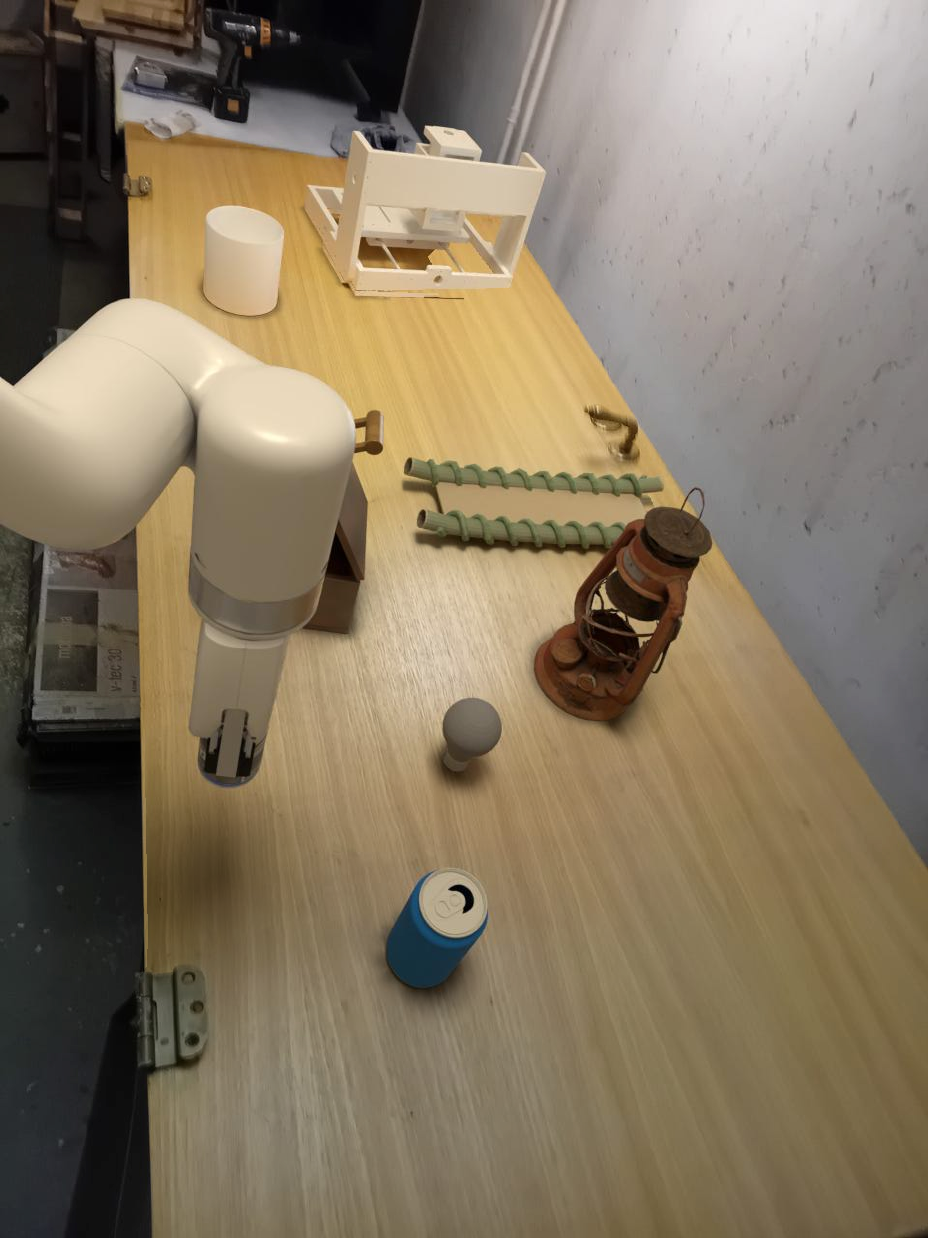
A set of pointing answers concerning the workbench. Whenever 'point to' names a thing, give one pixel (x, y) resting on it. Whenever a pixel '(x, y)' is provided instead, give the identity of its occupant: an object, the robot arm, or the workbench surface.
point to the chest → (336, 593)
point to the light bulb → (469, 731)
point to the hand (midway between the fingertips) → (232, 737)
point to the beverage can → (437, 927)
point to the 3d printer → (425, 212)
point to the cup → (242, 260)
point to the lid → (359, 497)
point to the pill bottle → (239, 780)
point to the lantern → (641, 589)
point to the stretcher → (531, 504)
